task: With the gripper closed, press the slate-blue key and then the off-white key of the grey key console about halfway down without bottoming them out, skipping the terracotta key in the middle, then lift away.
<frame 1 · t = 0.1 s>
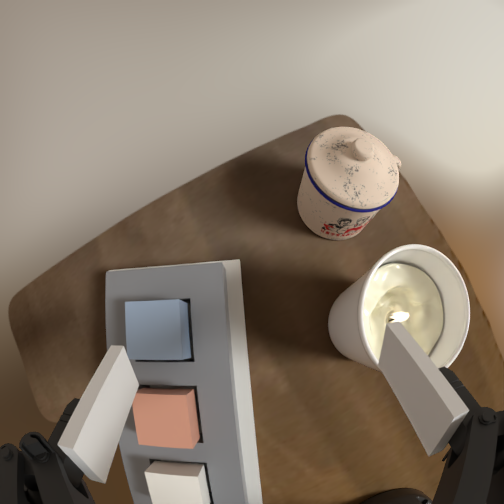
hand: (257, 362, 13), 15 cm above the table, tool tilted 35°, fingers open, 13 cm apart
key console: (180, 405, 26), on the table
white key: (178, 488, 19), point 5 cm above the table, slide at 0.0 cm
blue key: (158, 330, 24), point 5 cm above the table, slide at 0.0 cm
teacup with lid: (342, 202, 32), on the table
terracotta key: (166, 417, 21), point 5 cm above the table, slide at 0.0 cm
candle holder: (363, 323, 28), on the table
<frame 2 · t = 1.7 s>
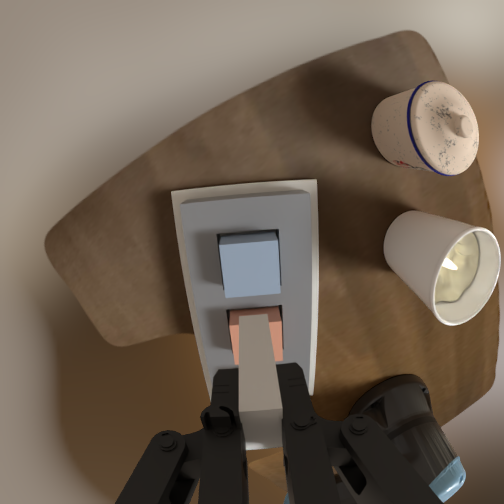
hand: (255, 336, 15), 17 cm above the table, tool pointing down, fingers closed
key console: (254, 312, 34), on the table
blue key: (250, 264, 27), point 5 cm above the table, slide at 0.0 cm
teacup with lid: (409, 129, 28), on the table
terracotta key: (256, 335, 29), point 5 cm above the table, slide at 0.0 cm
candle holder: (409, 242, 32), on the table
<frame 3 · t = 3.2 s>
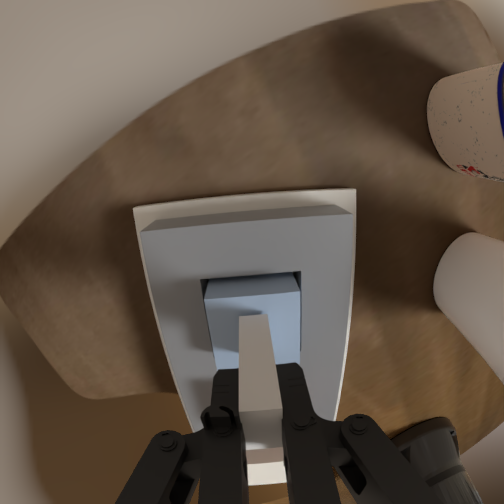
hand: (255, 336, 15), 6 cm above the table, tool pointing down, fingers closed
key console: (259, 371, 23), on the table
white key: (267, 461, 21), point 5 cm above the table, slide at 0.0 cm
blue key: (254, 321, 17), point 4 cm above the table, slide at 0.7 cm, touching gripper
teacup with lid: (469, 122, 17), on the table
candle holder: (462, 273, 22), on the table
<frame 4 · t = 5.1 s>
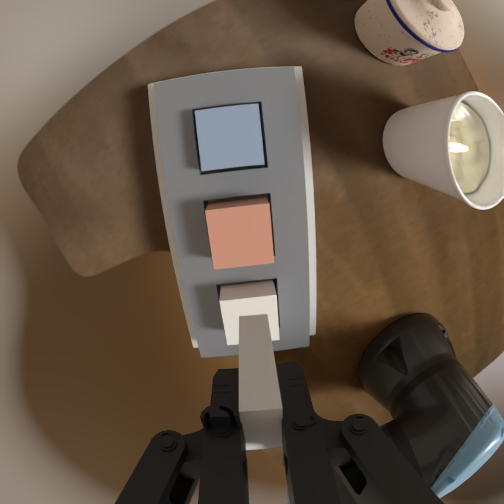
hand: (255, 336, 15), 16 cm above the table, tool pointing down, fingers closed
key console: (239, 218, 29), on the table
white key: (250, 312, 27), point 5 cm above the table, slide at 0.0 cm
blue key: (230, 137, 22), point 4 cm above the table, slide at 1.1 cm
teacup with lid: (395, 33, 22), on the table
terracotta key: (240, 232, 24), point 5 cm above the table, slide at 0.0 cm
candle holder: (410, 144, 27), on the table
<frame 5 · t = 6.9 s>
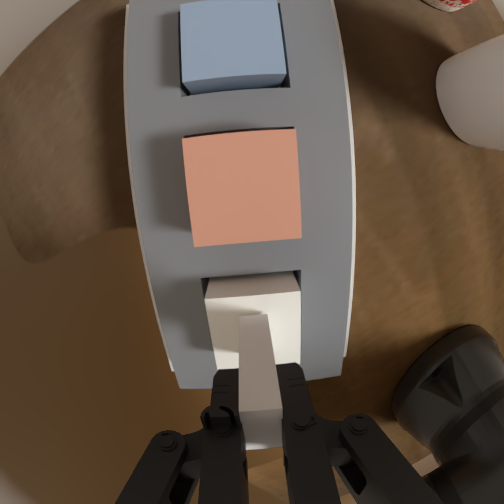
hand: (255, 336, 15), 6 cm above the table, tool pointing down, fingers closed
key console: (242, 178, 19), on the table
white key: (254, 321, 17), point 4 cm above the table, slide at 0.6 cm, touching gripper
blue key: (231, 44, 12), point 4 cm above the table, slide at 1.1 cm
terracotta key: (243, 185, 14), point 5 cm above the table, slide at 0.0 cm
candle holder: (466, 101, 17), on the table
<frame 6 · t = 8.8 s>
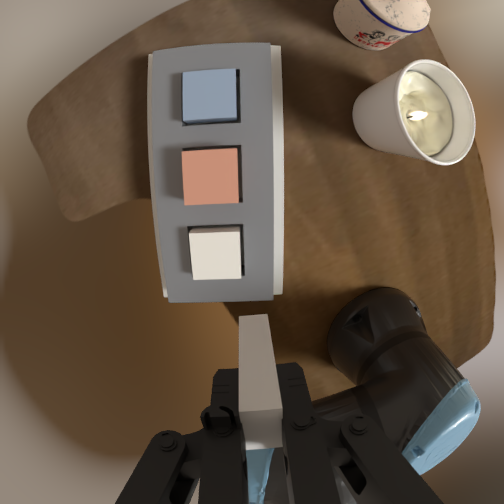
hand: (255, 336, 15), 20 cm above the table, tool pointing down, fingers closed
key console: (215, 172, 31), on the table
white key: (216, 251, 30), point 4 cm above the table, slide at 1.1 cm
blue key: (210, 96, 25), point 4 cm above the table, slide at 1.1 cm
teacup with lid: (372, 23, 25), on the table
terracotta key: (211, 175, 26), point 5 cm above the table, slide at 0.0 cm
candle holder: (381, 119, 30), on the table
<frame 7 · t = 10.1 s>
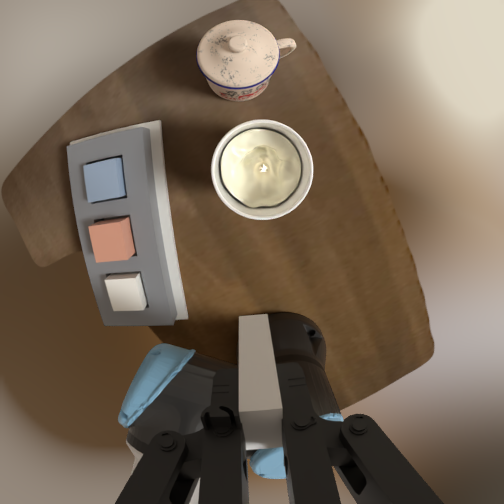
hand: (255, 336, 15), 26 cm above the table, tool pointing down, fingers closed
key console: (125, 230, 40), on the table
white key: (127, 290, 39), point 4 cm above the table, slide at 1.1 cm
blue key: (105, 179, 33), point 4 cm above the table, slide at 1.1 cm
teacup with lid: (248, 70, 33), on the table
terracotta key: (112, 239, 35), point 5 cm above the table, slide at 0.0 cm
candle holder: (256, 166, 38), on the table
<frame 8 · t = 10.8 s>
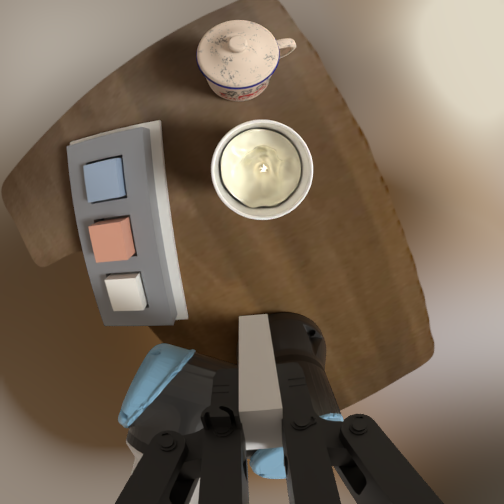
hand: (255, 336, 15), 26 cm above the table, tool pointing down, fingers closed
key console: (125, 230, 40), on the table
white key: (127, 290, 39), point 4 cm above the table, slide at 1.1 cm
blue key: (105, 179, 33), point 4 cm above the table, slide at 1.1 cm
teacup with lid: (248, 70, 33), on the table
terracotta key: (112, 239, 35), point 5 cm above the table, slide at 0.0 cm
candle holder: (256, 166, 38), on the table
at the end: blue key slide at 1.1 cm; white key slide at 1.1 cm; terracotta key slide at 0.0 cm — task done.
